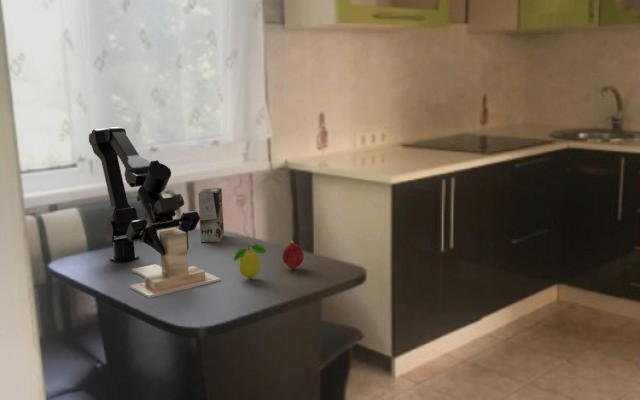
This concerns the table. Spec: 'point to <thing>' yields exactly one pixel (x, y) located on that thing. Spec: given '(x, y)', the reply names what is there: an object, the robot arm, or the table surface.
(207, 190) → the coffee box
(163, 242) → the birch tee block
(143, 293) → the tee mat
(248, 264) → the lemon
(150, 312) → the table surface
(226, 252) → the table surface
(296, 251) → the onion
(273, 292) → the table surface
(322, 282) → the table surface
